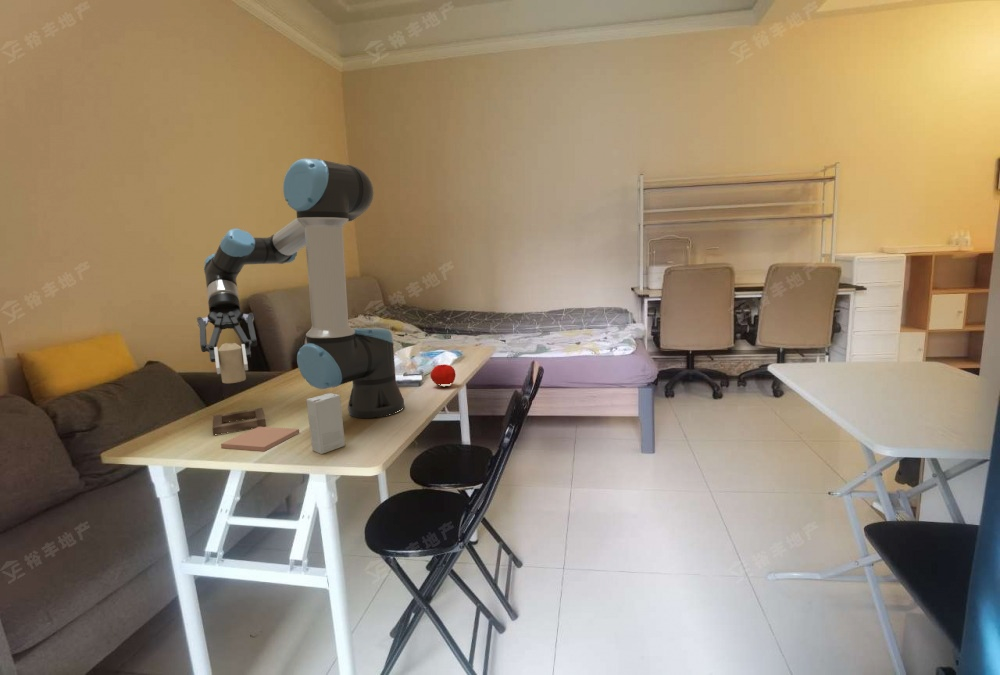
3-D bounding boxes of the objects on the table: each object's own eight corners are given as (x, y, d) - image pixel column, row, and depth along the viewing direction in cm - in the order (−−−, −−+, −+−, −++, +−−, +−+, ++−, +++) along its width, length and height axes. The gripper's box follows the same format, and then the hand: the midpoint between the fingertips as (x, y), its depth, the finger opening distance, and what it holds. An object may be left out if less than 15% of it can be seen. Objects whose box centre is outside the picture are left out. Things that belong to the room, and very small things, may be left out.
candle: (250, 378, 133) (245, 340, 132) (237, 383, 128) (232, 344, 126) (231, 378, 134) (225, 341, 132) (217, 383, 128) (212, 345, 127)
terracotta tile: (299, 432, 124) (299, 429, 124) (264, 451, 113) (263, 447, 113) (259, 430, 128) (259, 426, 128) (221, 447, 116) (220, 443, 116)
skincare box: (335, 442, 117) (330, 391, 115) (346, 446, 114) (341, 394, 112) (310, 451, 112) (305, 398, 110) (321, 455, 109) (315, 401, 107)
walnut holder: (263, 414, 141) (262, 407, 141) (266, 426, 131) (265, 418, 130) (214, 422, 136) (213, 415, 135) (213, 435, 125) (212, 428, 125)
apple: (427, 389, 160) (426, 366, 159) (437, 383, 168) (435, 361, 167) (451, 390, 158) (449, 367, 157) (459, 384, 165) (458, 361, 164)
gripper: (261, 306, 146) (272, 371, 134) (186, 312, 137) (191, 383, 125) (260, 288, 140) (272, 355, 129) (182, 294, 132) (187, 365, 120)
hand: (232, 368), depth 127 cm, fingers closed on candle, 5 cm apart
